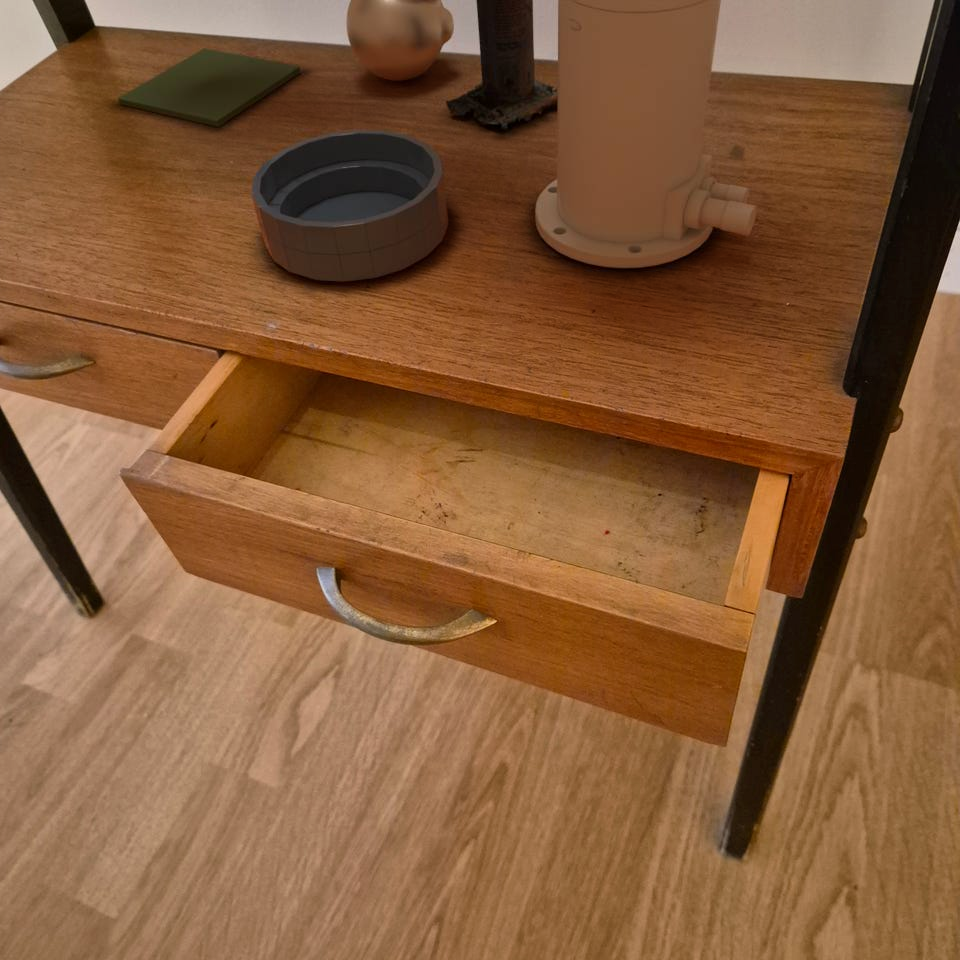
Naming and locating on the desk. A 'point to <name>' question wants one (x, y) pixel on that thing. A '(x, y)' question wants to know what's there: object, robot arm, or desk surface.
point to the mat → (210, 87)
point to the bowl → (351, 204)
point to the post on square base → (505, 67)
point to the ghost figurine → (398, 35)
